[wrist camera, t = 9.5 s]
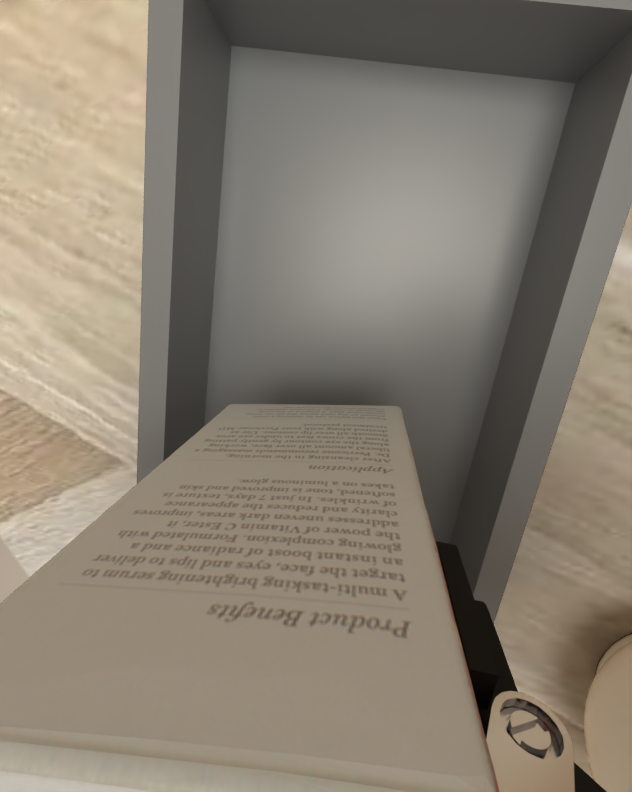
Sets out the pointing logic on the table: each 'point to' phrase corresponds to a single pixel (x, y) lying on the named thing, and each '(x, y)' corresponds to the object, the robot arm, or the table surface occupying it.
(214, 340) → the tote
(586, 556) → the table surface
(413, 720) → the small box
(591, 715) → the lidded jar
